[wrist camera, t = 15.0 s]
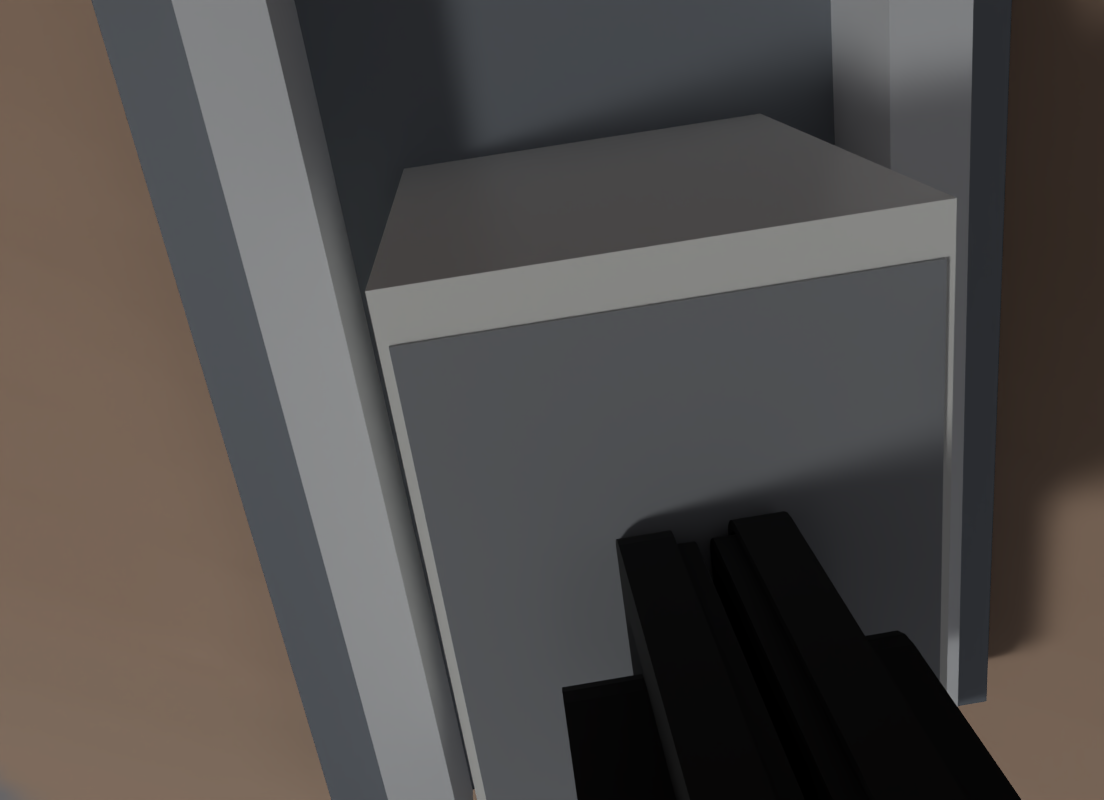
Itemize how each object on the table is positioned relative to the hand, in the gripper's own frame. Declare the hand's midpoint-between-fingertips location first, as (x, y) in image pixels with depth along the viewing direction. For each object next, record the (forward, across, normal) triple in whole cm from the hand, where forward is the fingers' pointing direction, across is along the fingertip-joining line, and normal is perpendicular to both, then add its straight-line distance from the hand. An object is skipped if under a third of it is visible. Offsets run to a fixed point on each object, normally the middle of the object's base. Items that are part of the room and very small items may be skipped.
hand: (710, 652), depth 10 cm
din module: (+6, 0, 0) cm, 6 cm away
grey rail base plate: (+7, 0, 0) cm, 7 cm away
